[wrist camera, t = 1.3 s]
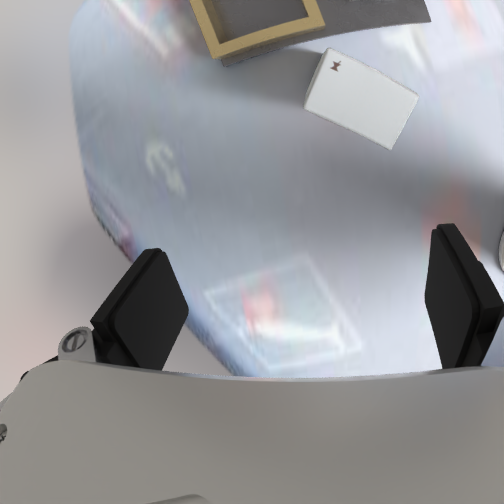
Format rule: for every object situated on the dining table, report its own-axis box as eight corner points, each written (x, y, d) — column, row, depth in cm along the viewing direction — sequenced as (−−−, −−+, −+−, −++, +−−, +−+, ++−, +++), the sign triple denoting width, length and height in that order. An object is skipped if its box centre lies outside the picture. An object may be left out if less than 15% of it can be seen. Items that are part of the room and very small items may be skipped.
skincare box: (305, 92, 27) (298, 108, 17) (322, 52, 24) (326, 44, 14) (364, 120, 27) (391, 153, 17) (383, 81, 24) (422, 93, 15)
